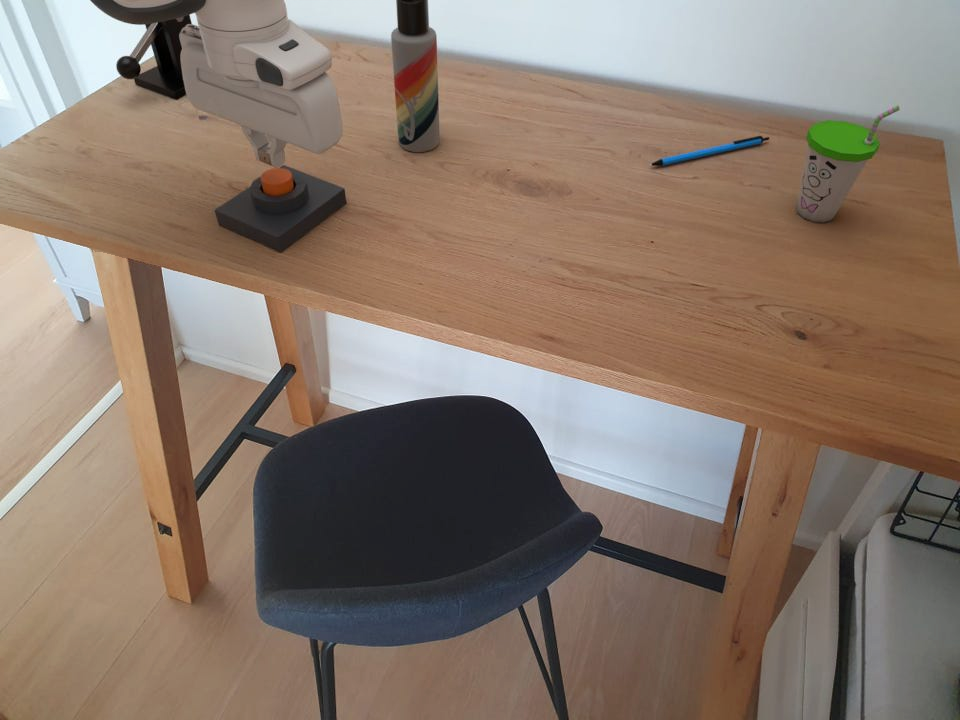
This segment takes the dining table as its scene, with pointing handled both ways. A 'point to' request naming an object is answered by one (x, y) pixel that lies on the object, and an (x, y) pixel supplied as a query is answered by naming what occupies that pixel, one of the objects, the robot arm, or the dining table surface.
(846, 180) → the cup
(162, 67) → the switch bracket
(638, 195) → the dining table surface
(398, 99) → the lotion bottle
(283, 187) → the button
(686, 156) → the pen
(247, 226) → the control block
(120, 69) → the switch
